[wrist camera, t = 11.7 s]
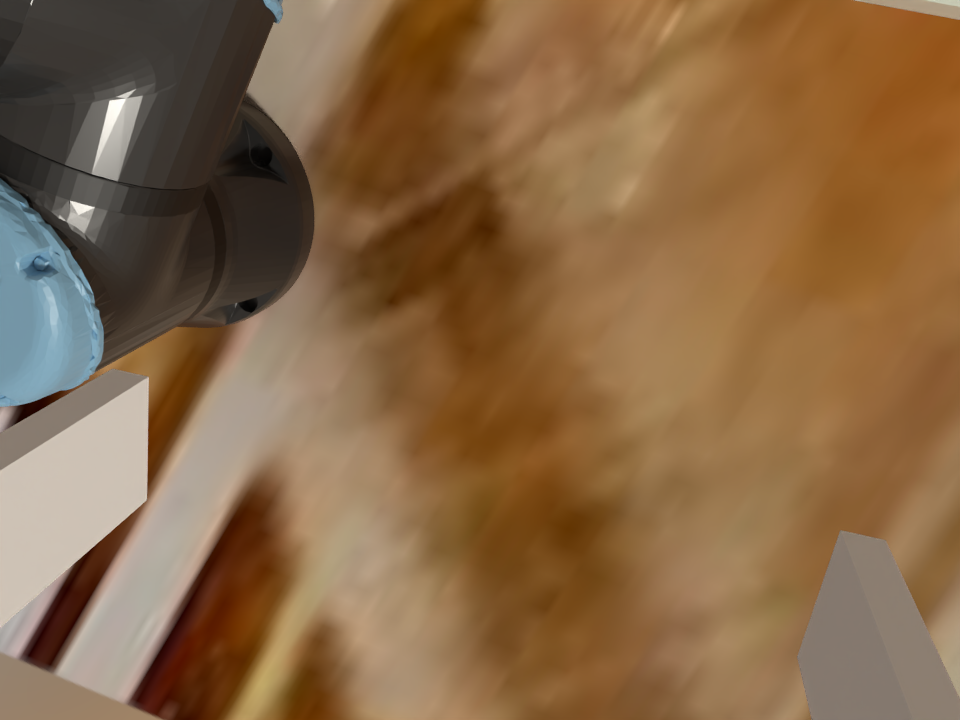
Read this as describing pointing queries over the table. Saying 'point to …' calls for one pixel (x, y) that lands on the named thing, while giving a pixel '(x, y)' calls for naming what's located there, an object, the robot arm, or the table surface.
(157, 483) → the table surface
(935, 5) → the tote
